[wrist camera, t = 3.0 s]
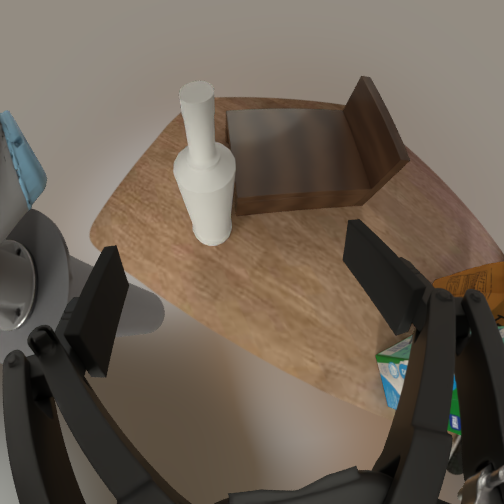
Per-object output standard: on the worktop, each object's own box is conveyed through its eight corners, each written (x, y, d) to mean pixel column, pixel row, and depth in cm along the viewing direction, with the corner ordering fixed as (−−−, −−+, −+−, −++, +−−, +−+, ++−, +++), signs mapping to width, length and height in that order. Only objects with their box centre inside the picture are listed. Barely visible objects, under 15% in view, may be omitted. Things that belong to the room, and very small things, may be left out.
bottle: (186, 235, 38) (134, 107, 13) (206, 204, 39) (187, 58, 15) (219, 254, 37) (209, 138, 13) (238, 222, 39) (258, 82, 15)
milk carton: (430, 379, 35) (556, 395, 11) (387, 406, 34) (516, 453, 10) (419, 330, 37) (555, 318, 13) (374, 355, 36) (520, 369, 12)
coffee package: (452, 359, 36) (554, 360, 15) (410, 321, 37) (527, 308, 16) (472, 310, 39) (567, 292, 17) (434, 270, 40) (538, 232, 18)
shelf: (235, 216, 39) (240, 162, 25) (225, 135, 42) (226, 69, 29) (362, 205, 41) (410, 160, 28) (339, 132, 44) (370, 77, 31)
